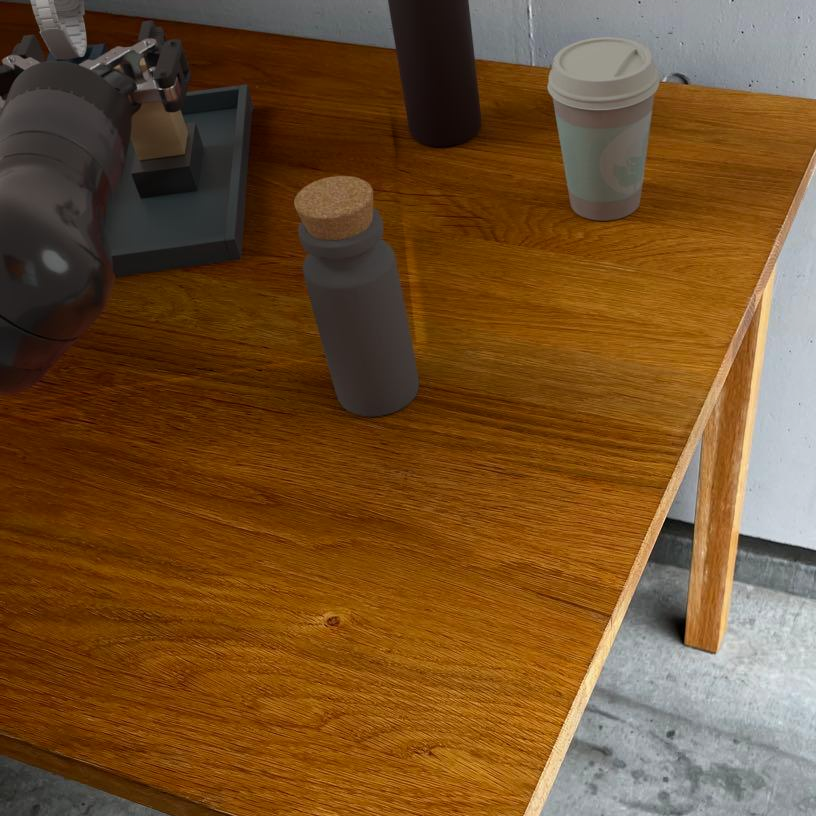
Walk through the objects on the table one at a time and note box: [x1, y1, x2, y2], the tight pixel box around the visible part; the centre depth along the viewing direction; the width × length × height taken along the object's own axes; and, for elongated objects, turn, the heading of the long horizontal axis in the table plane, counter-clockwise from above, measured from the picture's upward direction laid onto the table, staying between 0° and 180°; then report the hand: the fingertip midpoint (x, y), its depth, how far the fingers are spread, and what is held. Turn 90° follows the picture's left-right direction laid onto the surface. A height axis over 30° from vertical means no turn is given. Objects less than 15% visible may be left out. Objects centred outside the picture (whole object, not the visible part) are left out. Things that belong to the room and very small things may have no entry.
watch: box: [30, 0, 109, 65], centre depth 105 cm, size 6×8×11 cm
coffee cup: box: [547, 36, 660, 222], centre depth 83 cm, size 8×8×12 cm
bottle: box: [293, 175, 420, 418], centre depth 68 cm, size 6×6×15 cm
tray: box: [105, 84, 255, 277], centre depth 93 cm, size 14×28×2 cm, turn 8°
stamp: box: [110, 46, 203, 198], centre depth 91 cm, size 5×8×10 cm, turn 8°
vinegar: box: [387, 0, 482, 148], centre depth 90 cm, size 7×7×20 cm
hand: (94, 41), depth 77 cm, fingers open, 8 cm apart
